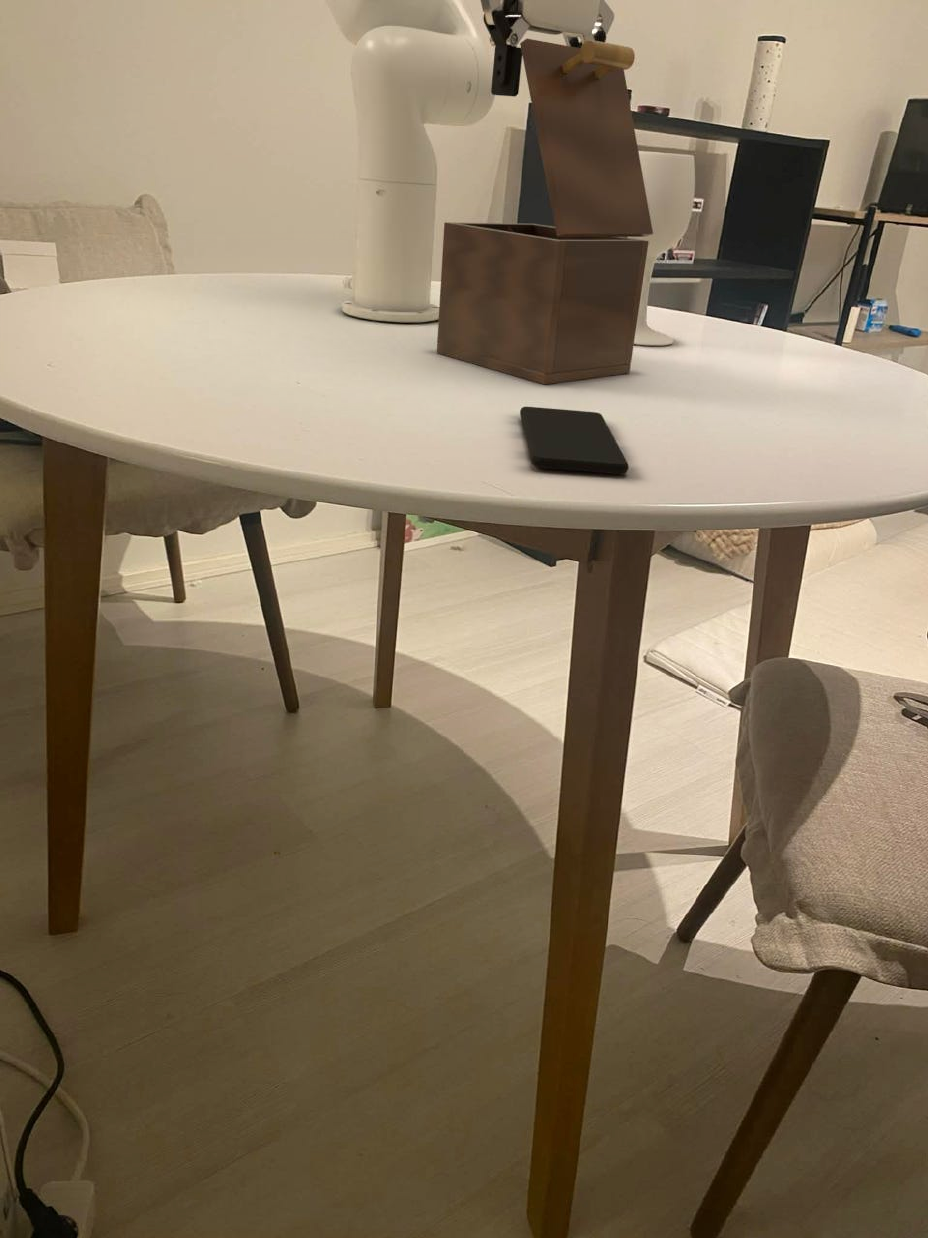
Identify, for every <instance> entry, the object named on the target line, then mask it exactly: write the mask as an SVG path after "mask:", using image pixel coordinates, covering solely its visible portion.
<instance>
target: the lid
mask: <svg viewBox="0 0 928 1238" xmlns="http://www.w3.org/2000/svg"><path fill="white" fill-rule="evenodd" d="M519 45H520V48H521V51H522V62H523V66H524V71H525V77H526V81H527V87H528V91H529V99H530V102H531V107H532V113H533V118H534V123H535V128H536V134H537V138H538V139H537V140H538V144H539V150H540V155H541V160H542V165H543V170H544V175H545V181H546V187H547V191H548V197H549V202H550V207H551V211H552V218H553V222H554V227H555V228H556V233H557V236H558V237H626V238H627V237H647V236H649V235H652V234H653V230H652V225H651V219H650V213H649V208H648V202H647V197H646V191H645V186H644V180H643V174H642V169H641V163H640V158H639V152H638V151H639V148H638V141H637V135H636V130H635V125H634V119H633V114H632V108H631V102H630V96H629V91H628V87H627V80H626V75H625V71H626V70H629V69H630V68H632V66H633V64H634V62H635V59H636V57H635V56H636V53H635V51H634V49H633V48H632V47H629V46H626V45H625V46H624V45H620V44H614V43H609V42H606V41H605V42H599V41H594V40H587V41H585V42H584V43H583V45H582V47H581V48H576V47H571V46H567V45H566V44H561V43H560V44H559V43H554V42H548V41H543V40H537V39H533V38H525V39H523V40H522V41H520V42H519Z"/></svg>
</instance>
